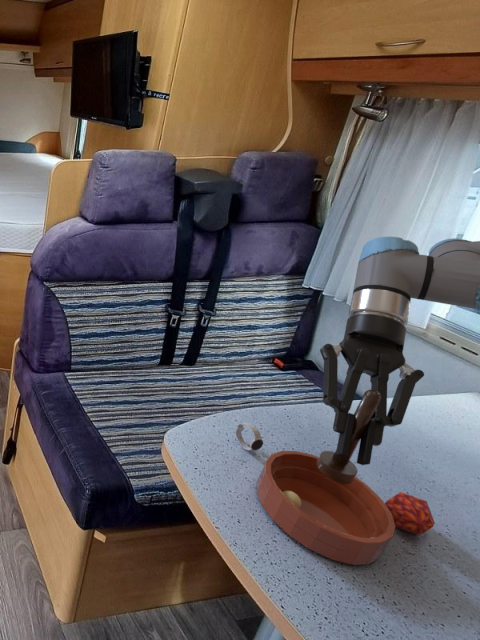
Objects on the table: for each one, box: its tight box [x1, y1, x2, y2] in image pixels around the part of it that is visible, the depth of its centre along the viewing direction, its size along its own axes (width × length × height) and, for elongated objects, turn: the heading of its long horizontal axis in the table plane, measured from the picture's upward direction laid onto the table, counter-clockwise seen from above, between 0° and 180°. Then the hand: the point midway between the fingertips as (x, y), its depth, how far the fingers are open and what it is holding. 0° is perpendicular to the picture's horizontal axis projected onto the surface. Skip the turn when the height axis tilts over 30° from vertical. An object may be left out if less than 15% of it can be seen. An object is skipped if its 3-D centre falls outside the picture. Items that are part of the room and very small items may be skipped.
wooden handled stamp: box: [316, 389, 381, 484], centre depth 73 cm, size 5×5×16 cm
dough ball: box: [282, 491, 301, 509], centre depth 79 cm, size 3×3×3 cm
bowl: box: [256, 450, 396, 566], centre depth 78 cm, size 18×18×6 cm
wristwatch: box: [234, 422, 264, 451], centre depth 92 cm, size 3×5×5 cm, turn 11°
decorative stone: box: [384, 491, 436, 536], centre depth 77 cm, size 6×7×8 cm
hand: (352, 459), depth 71 cm, fingers closed on wooden handled stamp, 2 cm apart
